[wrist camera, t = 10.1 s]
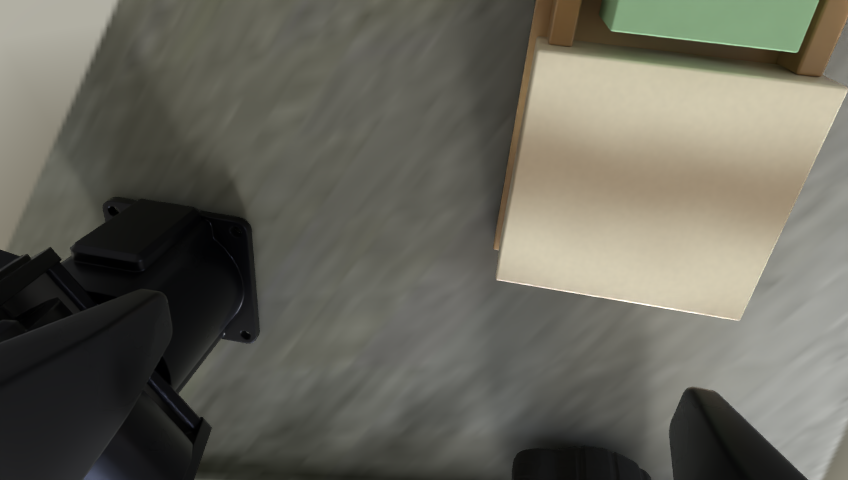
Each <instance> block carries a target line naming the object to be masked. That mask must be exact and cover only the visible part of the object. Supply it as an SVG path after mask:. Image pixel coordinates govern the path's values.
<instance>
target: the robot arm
mask: <svg viewBox="0 0 848 480" xmlns="http://www.w3.org/2000/svg"><path fill="white" fill-rule="evenodd" d="M115 207H116V208H117V209H118V211H119V212H118V211H117V210H116V209H115ZM103 212H104V217H105V221H106V222H105V223H104V224H102V225H101V226H99V227H98V228H96V229H95V230H93V231H92V232H90V233H89V234H87V235H86V236H84V237H83V238H81V239H80V240H78V241H77V242H76V243H75V244H74V245H73V246H72V247H71V248H70V250H71V254H72V256H70V257H69V258H67V259H66V260H65V261H63V262H62V263H60V261H61V260H62V259H61V258H60V257H59V256H58V255H57V254H56V253H55V252H54V250H53V249H52V248H51V247H49V248H48V249H46V250H44V251H42V252H41V253H39V254H37V255H35V256H33V257H32V258H30V257H29V255H28V254H26V255H24V256H23V255H22V256H17V255H14V254H12V253H9V252H6V251H3V250H0V480H194V478H195V475H196V473H197V470H198V467H199V464H200V461H201V458H202V455H203V452H204V449H205V446H206V443H207V440H208V438H209V435H210V432H211V429H212V427H211V426H210V425H209V424H208V423H207V422H206V420H205V419H204V418H203V417H200V418H199V417H198V416H197V414H196V413H195V412H194V411H193V410H192V409H191V408H190V407H189V406H188V404H187V403H186V402H185V401H184V400H183V399H182V398H181V397H180V396H179V392H180V391H181V390H182V388H183V387H184V386H185V385H186V383H187V382H188V381H189V379H190V378H191V377H192V375H193V374H194V373H195V372H196V370H197V369H198V368H199V366H200V365H201V364H202V363H203V361H204V360H205V359H206V357H207V356H208V355H209V353H210V352H211V351H212V350H213V348H214V347H215V346H216V344H217V343H218V342H219V341H220V339H226V340H231V341H237V342H242V343H253V342H254V341H255V340H256V338H257V337H258V336H259V332H260V330H259V317H258V305H257V293H256V280H255V268H254V255H253V243H252V230H251V226H250V224H249V223H248V222H247V221H246V220H245V219H243V218H240V217H235V216H229V215H223V214H217V213H211V212H205V211H199V210H198V209H196V208H194V207H189V206H183V205H177V204H171V203H165V202H159V201H152V200H146V199H139V200H132V199H126V198H120V197H113V198H112V199H110V200H108V201H107V202H105V203H104V205H103ZM235 227H237V228H239V229H240V230H241V233H239V232H237V231H236V230H235ZM246 331H247V332H249V333H250V334H249V333H247V332H246ZM669 438H670V448H671V458H672V468H673V477H674V480H808V479H807V478H806V477H805V476H804V475H802V474H801V473H800V472H799V471H798V470H797V469H796V468H795V467H794V466H793V465H792V464H791V463H790V462H789V461H788V460H787V459H786V458H785V457H784V456H783V455H782V454H781V453H780V452H779V451H778V450H776V449H775V448H774V447H773V446H772V445H771V444H770V443H769V442H768V441H767V440H766V439H765V438H764V437H763V436H762V435H761V434H760V433H759V432H758V431H757V430H756V429H755V428H754V427H753V426H752V425H750V424H749V423H748V422H747V421H746V420H745V419H744V418H743V417H742V416H741V415H740V414H739V413H738V412H737V411H736V410H735V409H734V408H733V407H732V406H731V405H730V404H729V403H728V402H727V401H726V400H725V399H723V398H722V397H721V396H720V395H719V394H718V393H717V392H715V391H713V390H708V389H703V388H697V387H689V388H687V389H686V390H685V391H684V393H683V395H682V397H681V400H680V402H679V404H678V406H677V409H676V411H675V413H674V416H673V418H672V420H671V423H670V429H669Z"/></svg>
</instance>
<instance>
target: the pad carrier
mask: <svg viewBox="0 0 848 480" xmlns="http://www.w3.org/2000/svg"><path fill="white" fill-rule="evenodd" d="M601 3H602V0H536V2H535V7H534V13H533V19H532V25H531V31H530V36H529V42H528V48H527V54H526V59H525V65H524V71H523V77H522V82H521V88H520V94H519V100H518V105H517V111H516V117H515V123H514V129H513V134H512V140H511V146H510V152H509V157H508V163H507V169H506V175H505V180H504V186H503V192H502V198H501V204H500V209H499V215H498V221H497V227H496V232H495V238H494V245H493V248H494V249H495V250H499V251H498V260H497V269H496V280H500V281H506V282H512V283H518V284H524V285H530V286H535V287H541V288H547V289H553V290H559V291H565V292H571V293H577V294H583V295H589V296H595V297H601V298H607V299H613V300H619V301H625V302H631V303H636V304H642V305H648V306H654V307H660V308H666V309H672V310H678V311H684V312H690V313H696V314H702V315H708V316H714V317H720V318H726V319H732V320H737V321H738V320H740V319H741V317H742V315H743V312H744V310H745V308H746V306H747V304H748V302H749V300H750V298H751V295H752V293H753V291H754V289H755V287H756V285H757V283H758V281H759V278H760V276H761V274H762V272H763V270H764V268H765V266H766V264H767V261H768V259H769V257H770V255H771V253H772V251H773V249H774V247H775V244H776V242H777V240H778V238H779V236H780V234H781V232H782V230H783V227H784V225H785V223H786V221H787V219H788V217H789V215H790V213H791V210H792V208H793V206H794V204H795V202H796V200H797V198H798V196H799V193H800V191H801V189H802V187H803V185H804V183H805V181H806V179H807V176H808V174H809V172H810V170H811V168H812V166H813V164H814V162H815V159H816V157H817V155H818V153H819V151H820V149H821V147H822V145H823V142H824V140H825V138H826V136H827V134H828V132H829V130H830V128H831V125H832V123H833V121H834V119H835V117H836V115H837V113H838V111H839V108H840V106H841V104H842V102H843V100H844V98H845V96H846V94H847V91H848V88H847V87H846V86H844V85H842V84H840V83H838V82H836V81H833V80H831V79H829V78H827V77H825V76H823V73H824V70H825V68H826V66H827V64H828V61H829V59H830V57H831V55H832V52H833V50H834V48H835V45H836V43H837V41H838V39H839V36H840V34H841V32H842V30H843V27H844V25H845V23H846V21H847V18H848V0H819V2H818V5H817V7H816V9H815V12H814V14H813V17H812V19H811V22H810V24H809V27H808V29H807V31H806V34H805V36H804V39H803V41H802V44H801V46H800V48H799V51H798V52H796V53H794V52H785V51H777V50H768V49H760V48H751V47H743V46H734V45H725V44H717V43H708V42H700V41H691V40H683V39H674V38H666V37H657V36H648V35H640V34H631V33H623V32H614V31H611V30H610V29H609V28H608V26H607V25H606V24H605V23H604V21H603V20H602V19H601V18H600V16H599V11H600V7H601Z"/></svg>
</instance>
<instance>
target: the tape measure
mask: <svg viewBox="0 0 848 480" xmlns="http://www.w3.org/2000/svg"><path fill="white" fill-rule="evenodd" d="M512 480H651V477H650V476H649V475H648V474H647V472H646V471H644V470H642V469H640V468H639V467H638V465H637V464H636V463H635V462H634V461H632V460H630V459H628V458H627V457H625V456H623V455H620V454H618V453H616V452H614V453H612V452H610V451H608V450H606V449H603V448H597V447H589V446H583V447H581V448H577V447H569V448H562V449H540V448H534V449H528V450H524V451H521V452H519V453H518V454H517V455H516V457H515V458H514V462H513V468H512Z"/></svg>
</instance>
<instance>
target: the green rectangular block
mask: <svg viewBox="0 0 848 480" xmlns="http://www.w3.org/2000/svg"><path fill="white" fill-rule="evenodd" d="M818 2H819V0H602V3H601V7H600V11H599V16H600V18H601V19H602V20H603V21H604V23H605V24H606V25H607V26H608V28H609V29H610V30H611V31H614V32H623V33H631V34H640V35H648V36H657V37H666V38H674V39H683V40H691V41H700V42H708V43H717V44H725V45H734V46H743V47H751V48H760V49H768V50H777V51H785V52H794V53H796V52H798V51H799V48H800V46H801V44H802V41H803V39H804V36H805V34H806V31H807V29H808V27H809V24H810V22H811V19H812V17H813V14H814V12H815V9H816V7H817V5H818Z"/></svg>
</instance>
